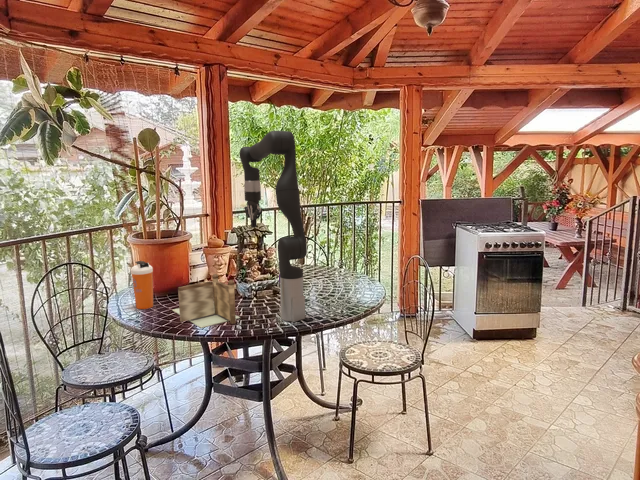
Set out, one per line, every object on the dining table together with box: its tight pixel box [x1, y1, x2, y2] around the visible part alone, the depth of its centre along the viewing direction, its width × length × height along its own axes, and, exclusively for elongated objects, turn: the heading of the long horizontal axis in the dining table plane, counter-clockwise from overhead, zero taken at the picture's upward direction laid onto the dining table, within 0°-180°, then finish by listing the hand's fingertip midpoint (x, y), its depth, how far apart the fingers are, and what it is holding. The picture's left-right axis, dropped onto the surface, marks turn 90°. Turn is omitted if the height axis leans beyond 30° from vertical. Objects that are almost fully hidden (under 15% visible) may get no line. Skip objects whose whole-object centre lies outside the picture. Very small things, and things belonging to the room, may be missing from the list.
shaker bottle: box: [130, 260, 154, 310], centre depth 194 cm, size 9×9×20 cm
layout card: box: [171, 307, 241, 329], centre depth 186 cm, size 28×17×1 cm, turn 40°
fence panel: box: [177, 280, 214, 323], centre depth 178 cm, size 14×1×14 cm, turn 129°
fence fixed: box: [211, 273, 237, 325], centre depth 178 cm, size 16×2×17 cm, turn 40°
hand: (253, 227), depth 210 cm, fingers closed
